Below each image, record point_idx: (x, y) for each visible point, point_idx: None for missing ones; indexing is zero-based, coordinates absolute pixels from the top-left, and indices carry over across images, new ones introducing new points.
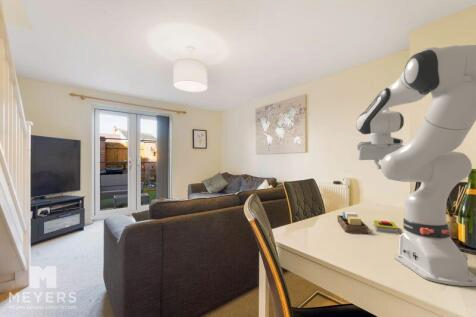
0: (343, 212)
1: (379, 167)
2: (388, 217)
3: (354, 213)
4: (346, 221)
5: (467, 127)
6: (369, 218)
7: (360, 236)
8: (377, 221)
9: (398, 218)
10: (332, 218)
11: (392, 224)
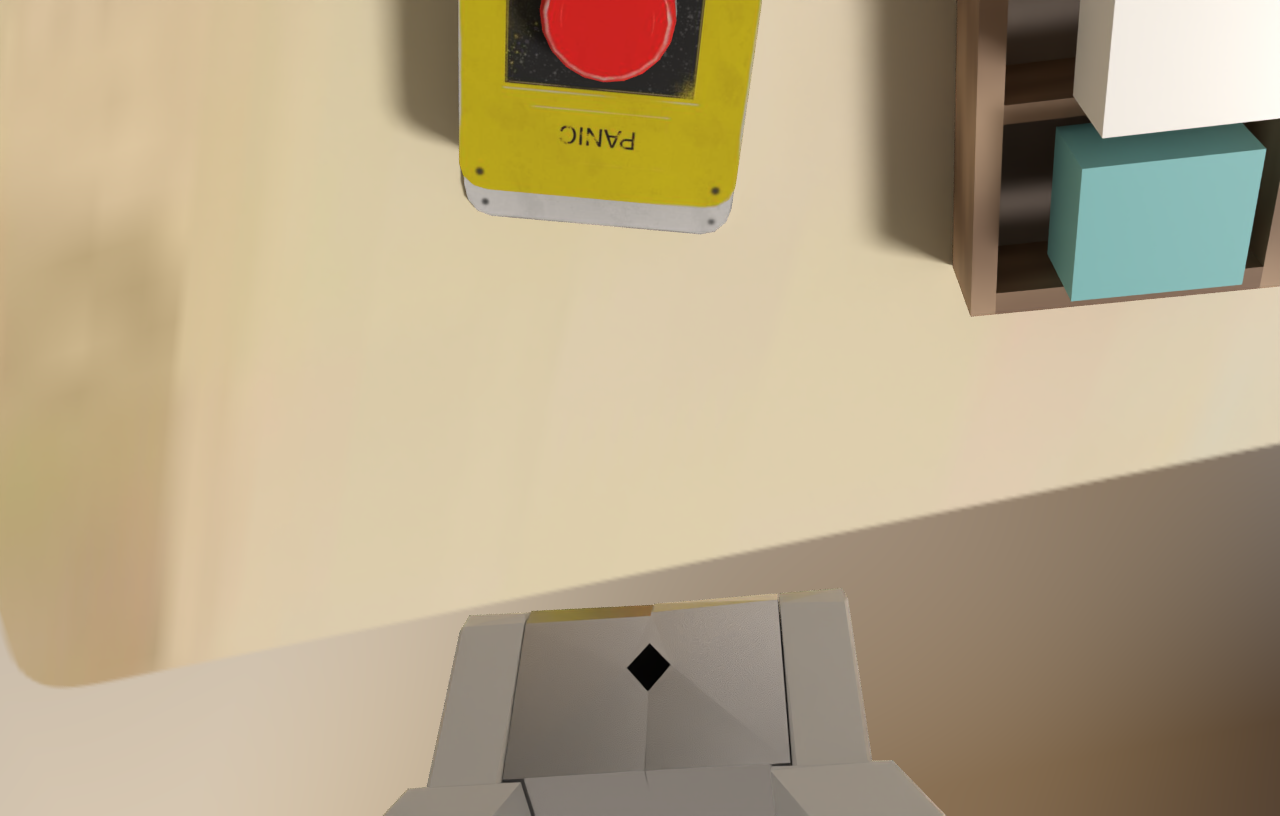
0: (1240, 253)
1: (786, 641)
2: (456, 583)
3: (1156, 21)
4: None
5: None
6: (711, 487)
7: None
8: (693, 148)
9: (344, 567)
10: (1272, 365)
11: (499, 26)
